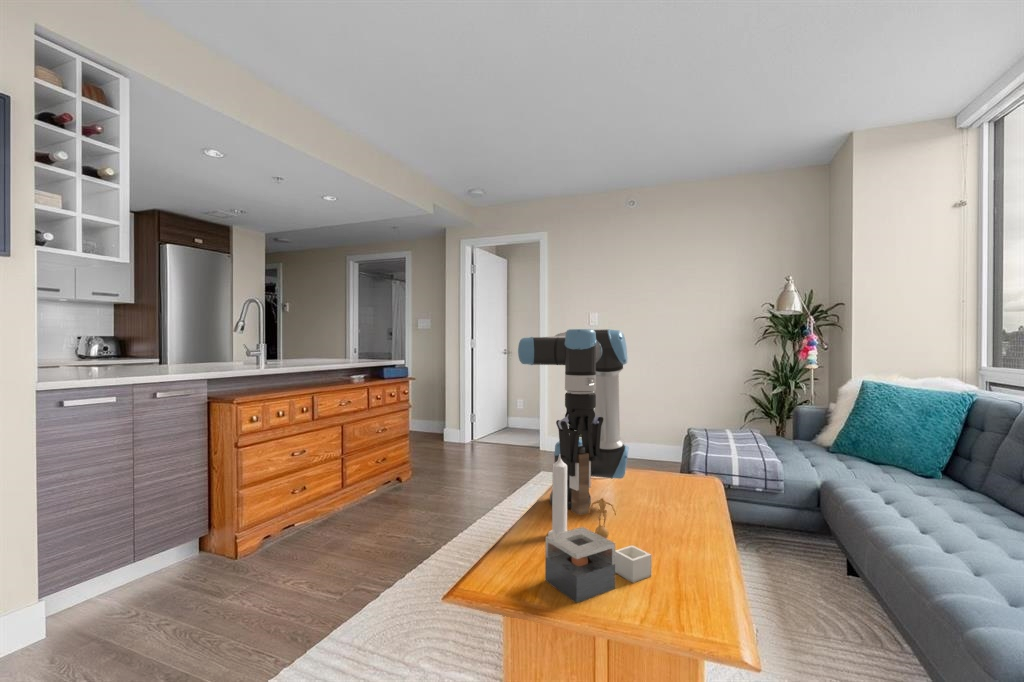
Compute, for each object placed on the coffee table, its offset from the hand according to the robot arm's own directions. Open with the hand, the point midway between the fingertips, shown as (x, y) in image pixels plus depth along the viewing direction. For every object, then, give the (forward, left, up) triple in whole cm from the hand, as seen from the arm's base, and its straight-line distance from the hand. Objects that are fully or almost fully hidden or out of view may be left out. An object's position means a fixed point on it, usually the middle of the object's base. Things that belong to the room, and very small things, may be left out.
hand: (580, 487), depth 117 cm
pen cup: (+3, +15, -24) cm, 28 cm away
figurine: (-18, +24, -24) cm, 38 cm away
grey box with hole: (0, 0, -24) cm, 24 cm away
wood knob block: (0, 0, -6) cm, 6 cm away
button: (0, 0, -23) cm, 23 cm away
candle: (-26, +14, -24) cm, 38 cm away
